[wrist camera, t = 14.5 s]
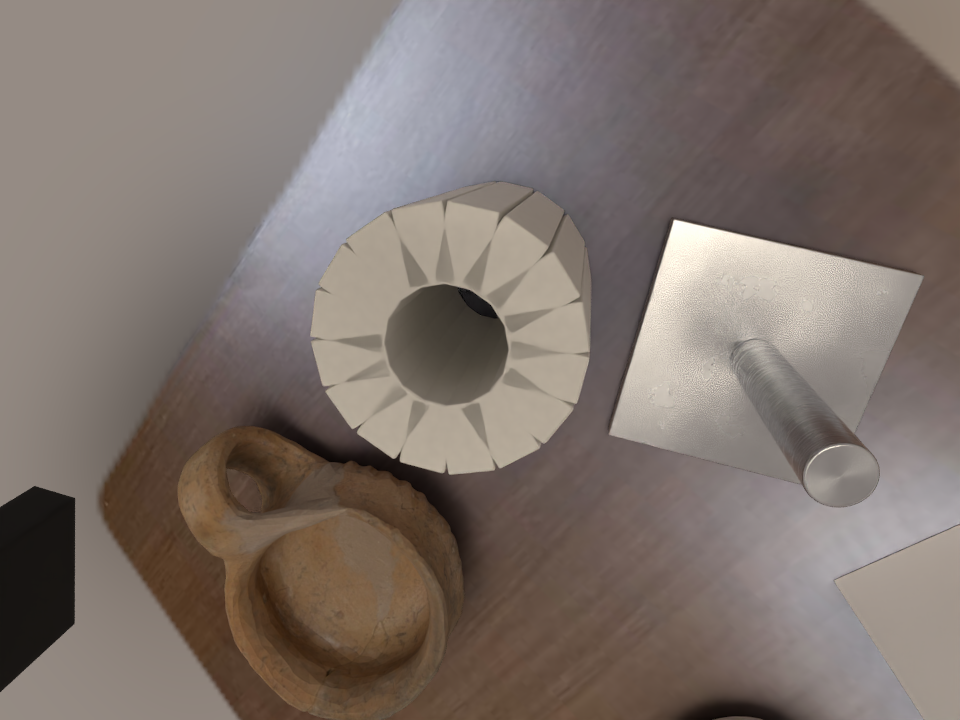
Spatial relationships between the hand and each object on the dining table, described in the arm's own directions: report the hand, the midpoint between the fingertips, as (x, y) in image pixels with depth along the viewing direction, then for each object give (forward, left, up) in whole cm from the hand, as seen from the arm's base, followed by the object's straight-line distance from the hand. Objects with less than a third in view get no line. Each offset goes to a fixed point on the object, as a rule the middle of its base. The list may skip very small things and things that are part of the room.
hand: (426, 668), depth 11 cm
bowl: (+16, -9, -26) cm, 32 cm away
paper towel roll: (-1, -3, -26) cm, 26 cm away
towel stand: (0, +11, -26) cm, 28 cm away
